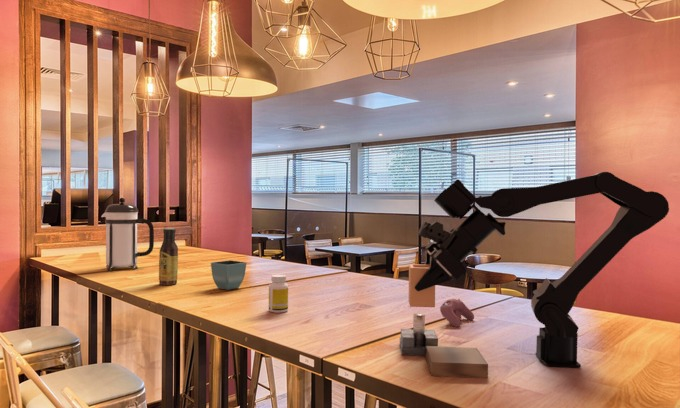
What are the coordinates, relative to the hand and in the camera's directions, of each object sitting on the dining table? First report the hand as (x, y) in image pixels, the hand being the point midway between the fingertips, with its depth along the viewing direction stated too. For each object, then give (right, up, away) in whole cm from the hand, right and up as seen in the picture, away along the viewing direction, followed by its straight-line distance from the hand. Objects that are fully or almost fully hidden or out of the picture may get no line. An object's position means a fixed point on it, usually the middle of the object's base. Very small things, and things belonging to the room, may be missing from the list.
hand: (414, 287), depth 98 cm
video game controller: (+15, -13, +23) cm, 30 cm away
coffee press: (-107, -10, +100) cm, 147 cm away
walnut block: (+6, -14, -9) cm, 18 cm away
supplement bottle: (-33, -13, +32) cm, 48 cm away
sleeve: (+1, -4, 0) cm, 4 cm away
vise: (+1, -13, +1) cm, 13 cm away
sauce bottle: (-77, -11, +67) cm, 103 cm away
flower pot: (-54, -12, +62) cm, 83 cm away
